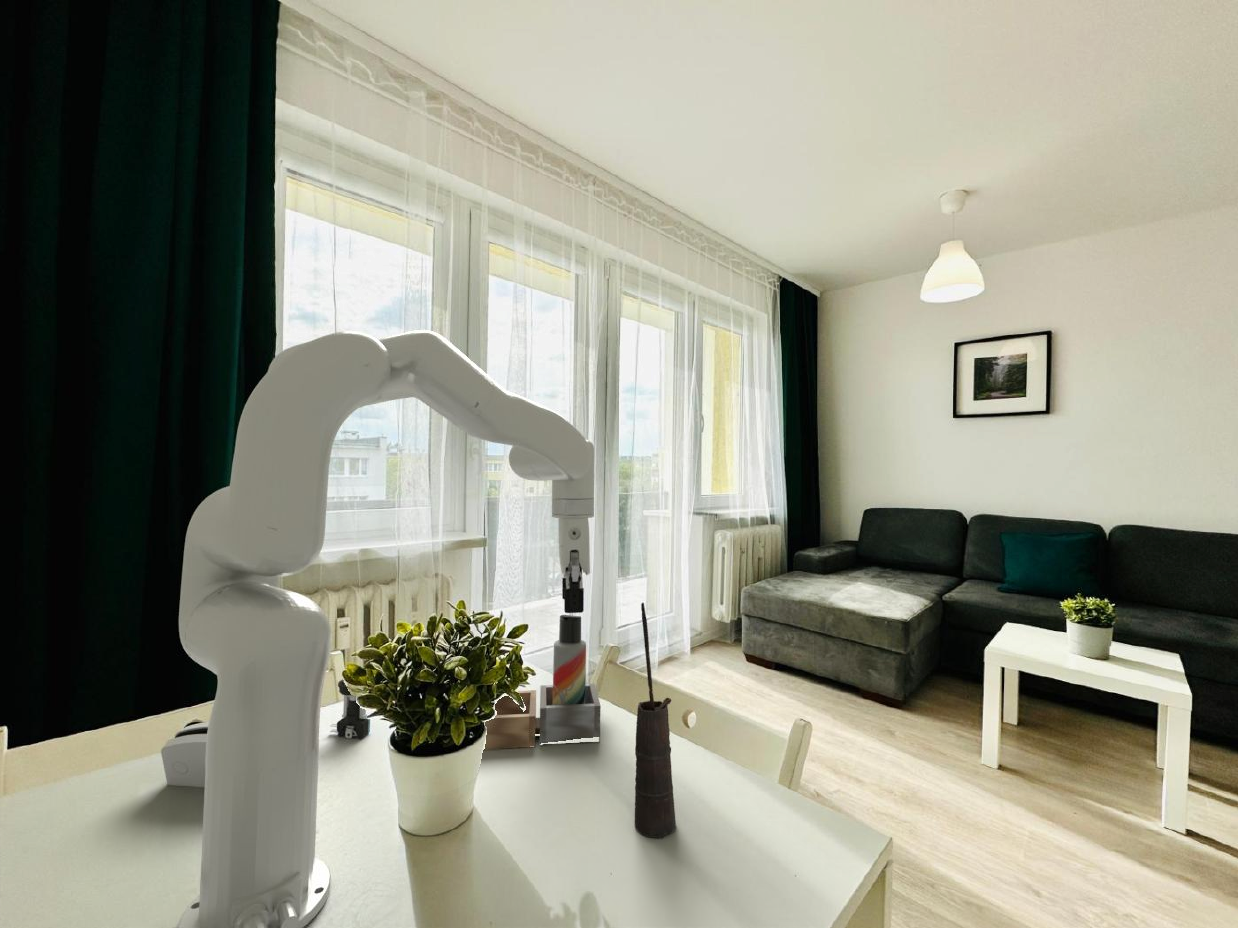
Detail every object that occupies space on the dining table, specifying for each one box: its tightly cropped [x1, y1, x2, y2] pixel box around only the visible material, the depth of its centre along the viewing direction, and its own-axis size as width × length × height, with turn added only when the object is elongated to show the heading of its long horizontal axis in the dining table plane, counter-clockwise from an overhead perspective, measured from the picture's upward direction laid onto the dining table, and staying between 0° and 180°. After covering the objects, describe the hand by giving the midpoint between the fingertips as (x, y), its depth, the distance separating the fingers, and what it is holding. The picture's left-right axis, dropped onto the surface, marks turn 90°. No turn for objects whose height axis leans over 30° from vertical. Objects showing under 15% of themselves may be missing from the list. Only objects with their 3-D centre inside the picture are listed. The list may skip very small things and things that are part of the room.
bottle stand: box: [484, 682, 601, 751], centre depth 92 cm, size 22×11×6 cm, turn 98°
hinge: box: [160, 721, 209, 788], centre depth 75 cm, size 17×5×10 cm, turn 86°
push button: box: [330, 679, 371, 740], centre depth 90 cm, size 7×5×10 cm
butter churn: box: [634, 602, 677, 838], centre depth 68 cm, size 9×10×28 cm
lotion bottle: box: [552, 614, 587, 705], centre depth 93 cm, size 6×6×20 cm
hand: (572, 605), depth 94 cm, fingers open, 9 cm apart
